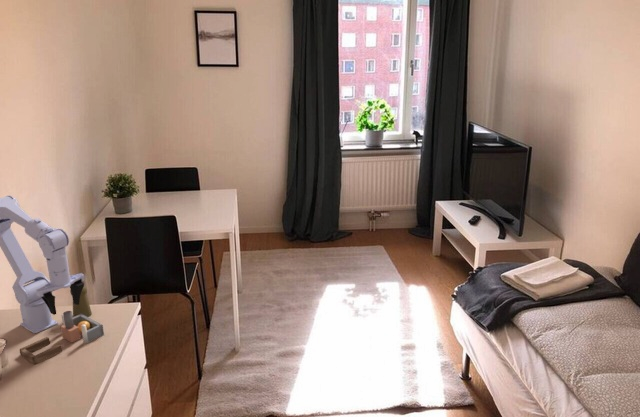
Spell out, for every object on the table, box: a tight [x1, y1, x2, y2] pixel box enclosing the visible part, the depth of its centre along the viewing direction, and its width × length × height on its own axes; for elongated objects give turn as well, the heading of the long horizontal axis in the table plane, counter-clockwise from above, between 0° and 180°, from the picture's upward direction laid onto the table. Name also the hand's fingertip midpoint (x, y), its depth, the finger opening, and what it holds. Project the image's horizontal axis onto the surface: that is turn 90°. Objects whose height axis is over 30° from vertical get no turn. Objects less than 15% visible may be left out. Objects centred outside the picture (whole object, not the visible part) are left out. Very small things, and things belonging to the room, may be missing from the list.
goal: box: [61, 313, 105, 345], centre depth 175 cm, size 12×7×6 cm, turn 54°
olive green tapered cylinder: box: [69, 284, 93, 318], centre depth 185 cm, size 6×6×11 cm
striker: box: [60, 310, 81, 343], centre depth 171 cm, size 5×3×9 cm, turn 54°
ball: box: [77, 321, 91, 334], centre depth 176 cm, size 4×4×4 cm
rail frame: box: [19, 336, 63, 365], centre depth 165 cm, size 8×8×2 cm
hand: (65, 308), depth 171 cm, fingers open, 7 cm apart
